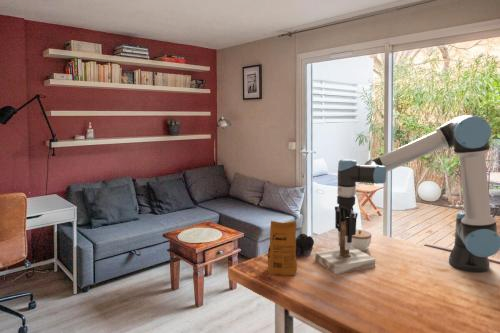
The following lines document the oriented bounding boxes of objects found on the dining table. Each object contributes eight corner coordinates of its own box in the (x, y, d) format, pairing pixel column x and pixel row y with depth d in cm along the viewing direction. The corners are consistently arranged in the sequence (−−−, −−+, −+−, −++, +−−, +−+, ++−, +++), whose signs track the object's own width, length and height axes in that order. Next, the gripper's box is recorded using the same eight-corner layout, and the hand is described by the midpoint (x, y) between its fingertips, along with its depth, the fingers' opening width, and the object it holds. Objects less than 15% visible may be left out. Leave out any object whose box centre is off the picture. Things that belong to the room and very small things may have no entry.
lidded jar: (374, 252, 176) (374, 233, 175) (351, 252, 176) (351, 233, 175) (367, 244, 187) (367, 226, 185) (345, 244, 187) (346, 226, 186)
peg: (351, 256, 163) (352, 223, 161) (343, 257, 161) (344, 224, 159) (345, 252, 167) (346, 220, 164) (337, 254, 165) (338, 221, 163)
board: (375, 266, 161) (375, 258, 160) (335, 274, 154) (335, 266, 153) (352, 253, 175) (352, 246, 175) (315, 260, 168) (315, 252, 168)
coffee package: (268, 265, 163) (268, 217, 160) (297, 267, 161) (297, 218, 158) (266, 275, 153) (265, 224, 150) (296, 277, 151) (297, 225, 148)
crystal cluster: (278, 255, 177) (279, 235, 174) (294, 244, 187) (294, 226, 185) (303, 264, 169) (303, 244, 166) (317, 252, 179) (318, 233, 176)
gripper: (327, 192, 167) (326, 242, 170) (351, 200, 151) (349, 255, 154) (342, 190, 169) (340, 240, 173) (366, 198, 153) (364, 253, 157)
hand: (344, 247), depth 163 cm, fingers closed on peg, 4 cm apart
